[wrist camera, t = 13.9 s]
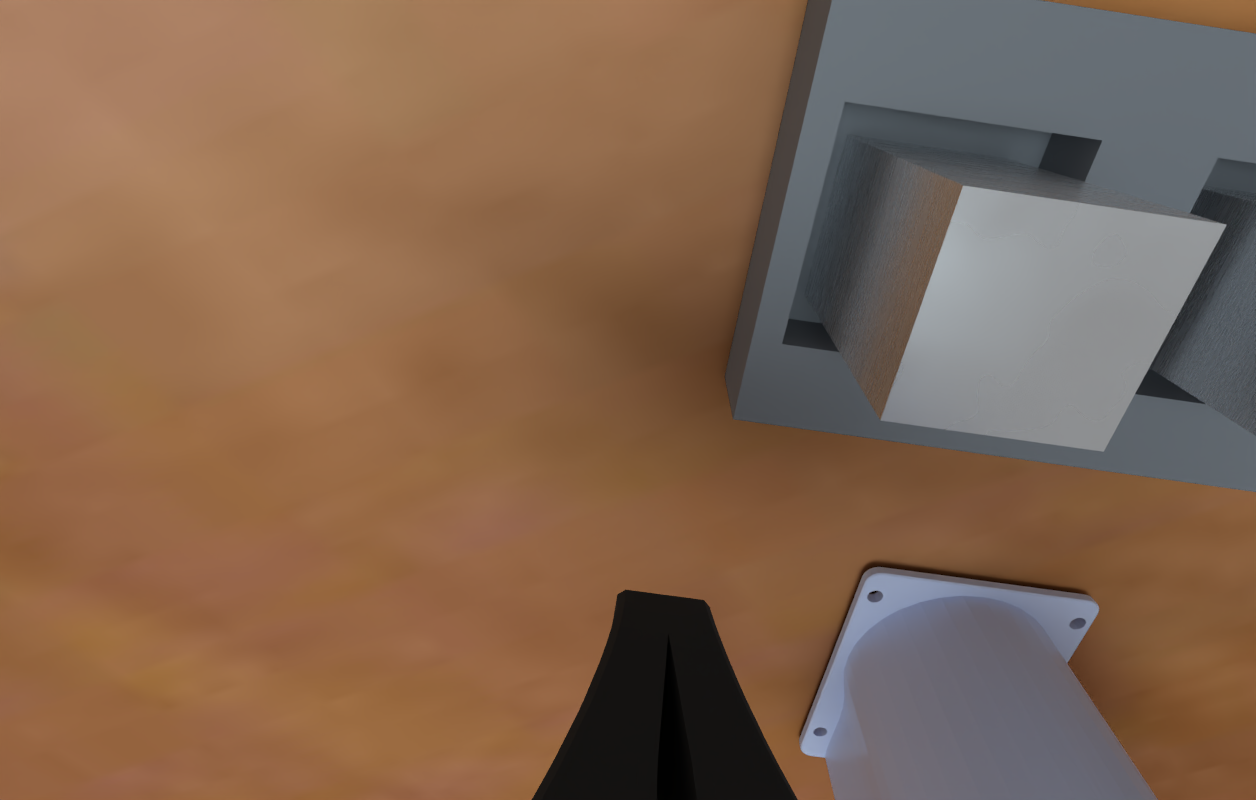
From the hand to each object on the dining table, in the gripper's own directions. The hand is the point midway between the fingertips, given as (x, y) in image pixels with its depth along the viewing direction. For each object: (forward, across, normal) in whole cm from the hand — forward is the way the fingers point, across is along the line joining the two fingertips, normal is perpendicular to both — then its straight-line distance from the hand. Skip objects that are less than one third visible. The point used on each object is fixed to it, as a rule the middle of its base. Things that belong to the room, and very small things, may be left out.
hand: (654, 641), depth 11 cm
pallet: (+10, -10, -5) cm, 15 cm away
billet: (+10, -6, -5) cm, 12 cm away
